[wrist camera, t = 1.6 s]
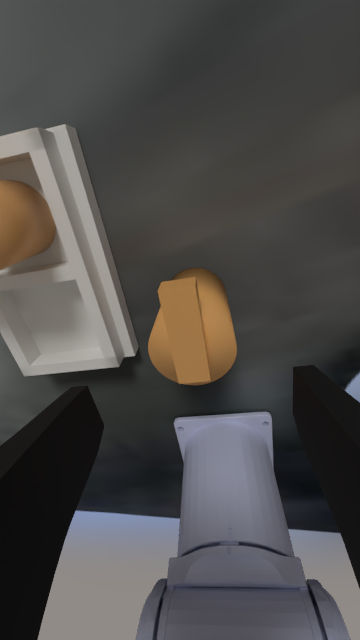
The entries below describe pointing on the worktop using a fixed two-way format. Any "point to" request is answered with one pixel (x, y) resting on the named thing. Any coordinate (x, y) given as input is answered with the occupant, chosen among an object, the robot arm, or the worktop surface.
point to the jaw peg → (193, 329)
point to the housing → (56, 260)
